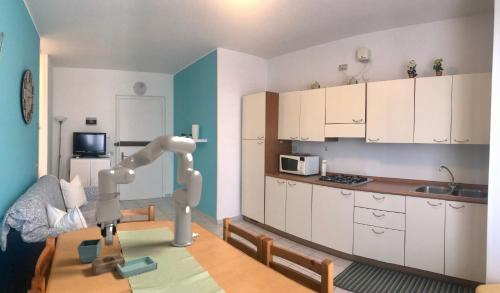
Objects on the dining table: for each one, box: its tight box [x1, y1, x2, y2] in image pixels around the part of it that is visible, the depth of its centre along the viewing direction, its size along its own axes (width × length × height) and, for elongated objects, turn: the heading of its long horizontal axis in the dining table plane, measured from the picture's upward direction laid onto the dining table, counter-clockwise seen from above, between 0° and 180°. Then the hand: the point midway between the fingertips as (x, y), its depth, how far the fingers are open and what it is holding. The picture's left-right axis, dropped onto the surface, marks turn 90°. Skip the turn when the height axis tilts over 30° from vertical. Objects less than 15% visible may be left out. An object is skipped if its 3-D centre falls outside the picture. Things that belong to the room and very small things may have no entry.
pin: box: [104, 221, 114, 247], centre depth 133 cm, size 5×5×10 cm
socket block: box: [91, 253, 126, 277], centre depth 133 cm, size 12×9×4 cm
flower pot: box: [77, 238, 103, 264], centre depth 141 cm, size 9×9×9 cm
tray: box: [116, 255, 158, 279], centre depth 133 cm, size 15×11×3 cm
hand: (108, 235), depth 133 cm, fingers closed on pin, 3 cm apart
